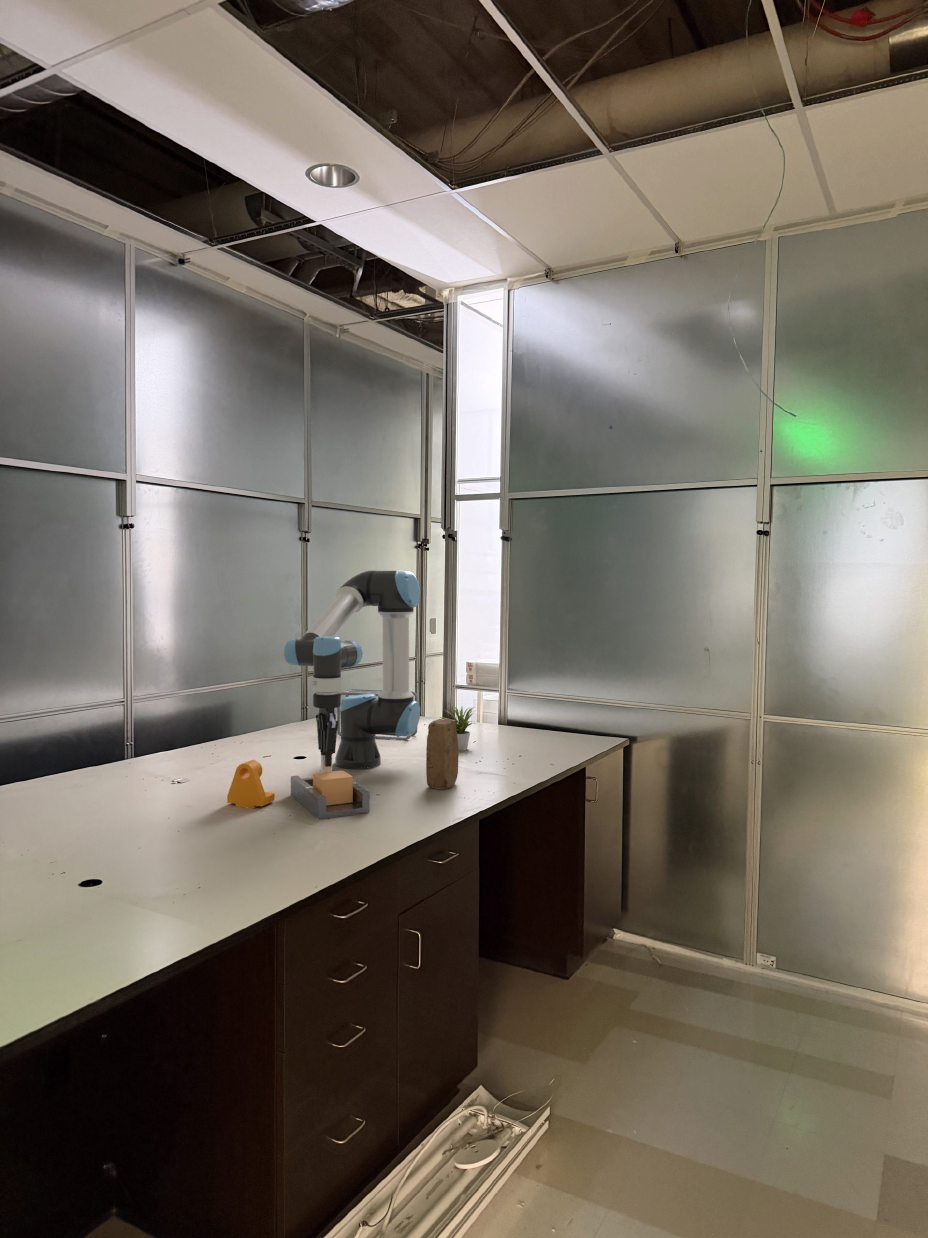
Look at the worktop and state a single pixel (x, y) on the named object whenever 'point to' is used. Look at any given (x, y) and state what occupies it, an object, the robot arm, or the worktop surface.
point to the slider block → (334, 786)
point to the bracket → (249, 787)
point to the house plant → (462, 727)
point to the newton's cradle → (376, 695)
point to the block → (442, 754)
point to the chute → (317, 801)
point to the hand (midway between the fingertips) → (326, 777)
